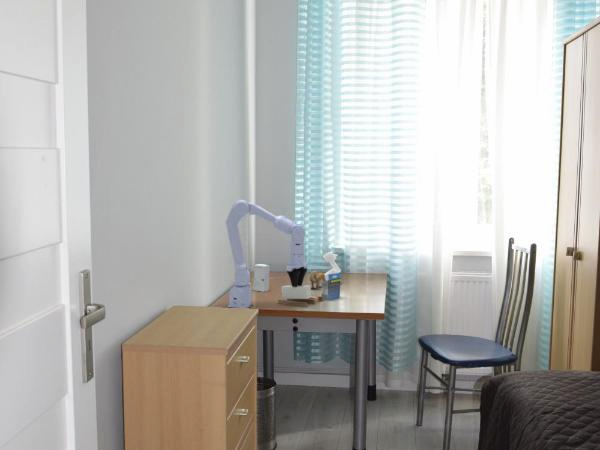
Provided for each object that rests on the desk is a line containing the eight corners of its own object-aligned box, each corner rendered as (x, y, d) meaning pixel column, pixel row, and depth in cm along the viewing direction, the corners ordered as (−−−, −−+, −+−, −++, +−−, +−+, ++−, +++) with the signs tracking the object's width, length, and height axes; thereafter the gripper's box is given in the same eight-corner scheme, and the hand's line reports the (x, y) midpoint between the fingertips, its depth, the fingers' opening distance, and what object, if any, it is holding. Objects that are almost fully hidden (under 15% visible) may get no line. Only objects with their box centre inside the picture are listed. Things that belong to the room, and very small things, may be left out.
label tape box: (333, 298, 319) (333, 271, 317) (340, 299, 316) (340, 272, 315) (320, 301, 312) (321, 273, 311) (328, 302, 309) (328, 274, 308)
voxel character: (351, 274, 353) (333, 249, 352) (331, 288, 354) (313, 263, 353) (351, 272, 360) (333, 248, 359) (331, 285, 361) (314, 261, 360)
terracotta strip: (315, 302, 304) (315, 297, 304) (292, 299, 310) (292, 295, 309) (318, 301, 307) (318, 296, 307) (295, 298, 312) (295, 294, 312)
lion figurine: (318, 290, 337) (318, 271, 336) (307, 289, 339) (307, 270, 338) (328, 285, 351) (328, 267, 350) (318, 284, 353) (318, 266, 352)
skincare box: (253, 290, 336) (253, 264, 334) (259, 289, 339) (259, 263, 338) (263, 292, 332) (264, 265, 331) (269, 290, 336) (269, 264, 335)
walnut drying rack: (305, 309, 294) (306, 303, 294) (276, 306, 301) (276, 299, 301) (324, 302, 309) (325, 296, 309) (296, 299, 316) (296, 293, 316)
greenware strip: (307, 298, 297) (306, 286, 297) (282, 298, 303) (281, 286, 303) (311, 297, 300) (310, 285, 300) (286, 297, 306) (285, 285, 306)
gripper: (297, 256, 292) (296, 289, 293) (314, 252, 304) (313, 284, 305) (282, 255, 295) (281, 288, 296) (299, 251, 308) (299, 282, 309)
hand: (296, 286), depth 301 cm, fingers closed on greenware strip, 3 cm apart
